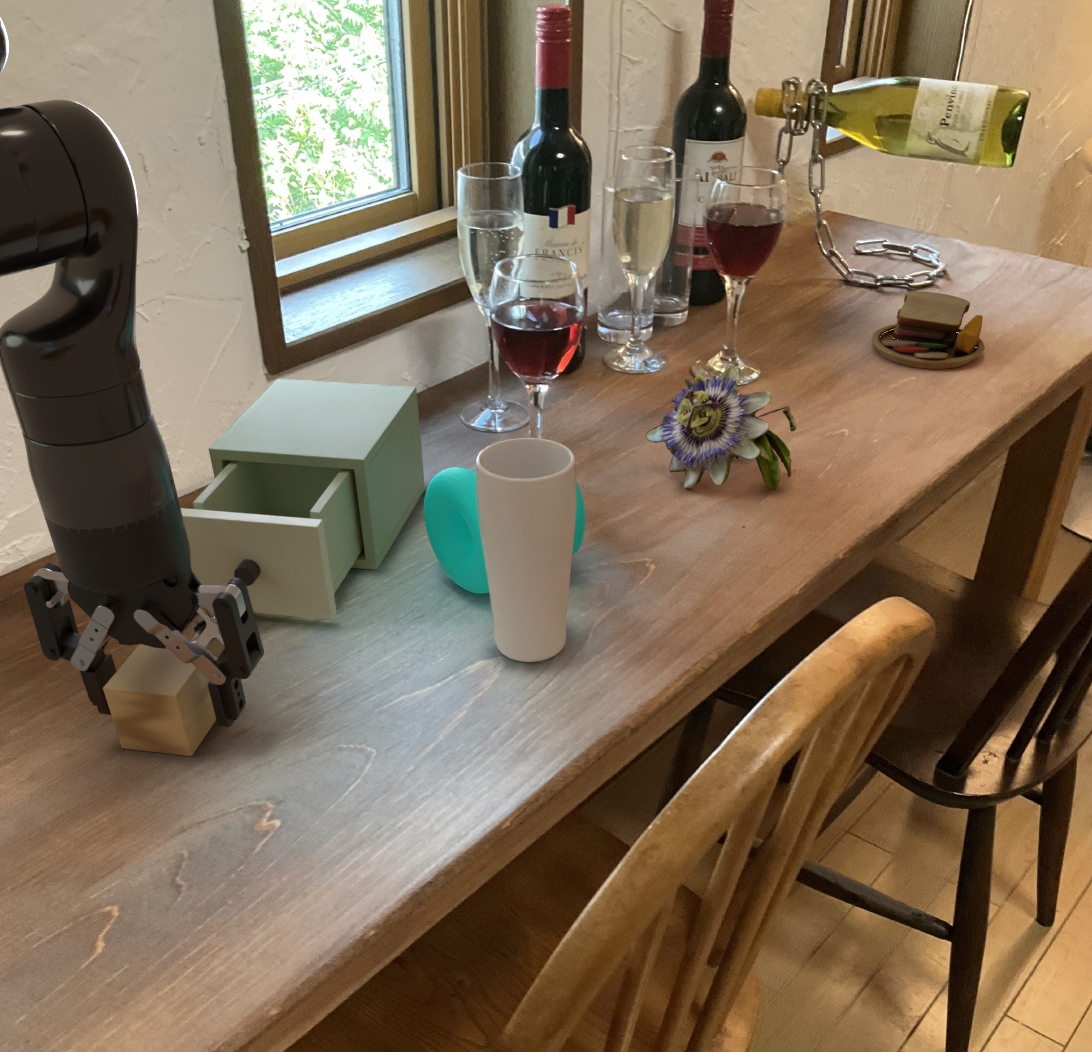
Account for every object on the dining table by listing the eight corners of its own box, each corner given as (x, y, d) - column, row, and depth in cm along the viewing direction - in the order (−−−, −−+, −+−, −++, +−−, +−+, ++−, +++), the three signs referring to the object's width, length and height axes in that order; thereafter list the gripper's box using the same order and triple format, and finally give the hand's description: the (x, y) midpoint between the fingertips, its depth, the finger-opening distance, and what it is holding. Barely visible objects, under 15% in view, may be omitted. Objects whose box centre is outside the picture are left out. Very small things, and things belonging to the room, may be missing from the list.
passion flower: (689, 538, 107) (619, 435, 103) (736, 475, 113) (672, 374, 109) (784, 506, 99) (712, 391, 94) (829, 439, 105) (764, 328, 100)
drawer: (326, 629, 84) (311, 535, 80) (182, 615, 86) (158, 522, 81) (384, 534, 96) (374, 446, 91) (256, 523, 98) (239, 437, 93)
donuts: (592, 577, 92) (594, 463, 85) (491, 619, 87) (485, 501, 81) (519, 531, 98) (516, 421, 92) (422, 567, 93) (411, 454, 87)
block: (121, 748, 75) (102, 688, 72) (155, 703, 79) (138, 644, 76) (191, 756, 74) (175, 696, 71) (222, 711, 78) (208, 651, 75)
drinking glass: (470, 660, 83) (457, 470, 73) (507, 613, 88) (499, 430, 78) (555, 679, 81) (554, 487, 71) (588, 630, 85) (591, 444, 76)
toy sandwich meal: (855, 359, 128) (861, 317, 125) (891, 324, 137) (899, 284, 134) (965, 379, 123) (975, 336, 120) (996, 341, 132) (1006, 300, 129)
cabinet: (377, 570, 93) (363, 459, 87) (231, 557, 95) (208, 448, 89) (425, 489, 104) (416, 386, 98) (293, 479, 106) (277, 378, 100)
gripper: (248, 473, 68) (290, 691, 78) (31, 458, 70) (100, 671, 80) (195, 533, 62) (248, 760, 72) (-39, 514, 64) (44, 737, 74)
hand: (170, 713), depth 76 cm, fingers open, 8 cm apart
